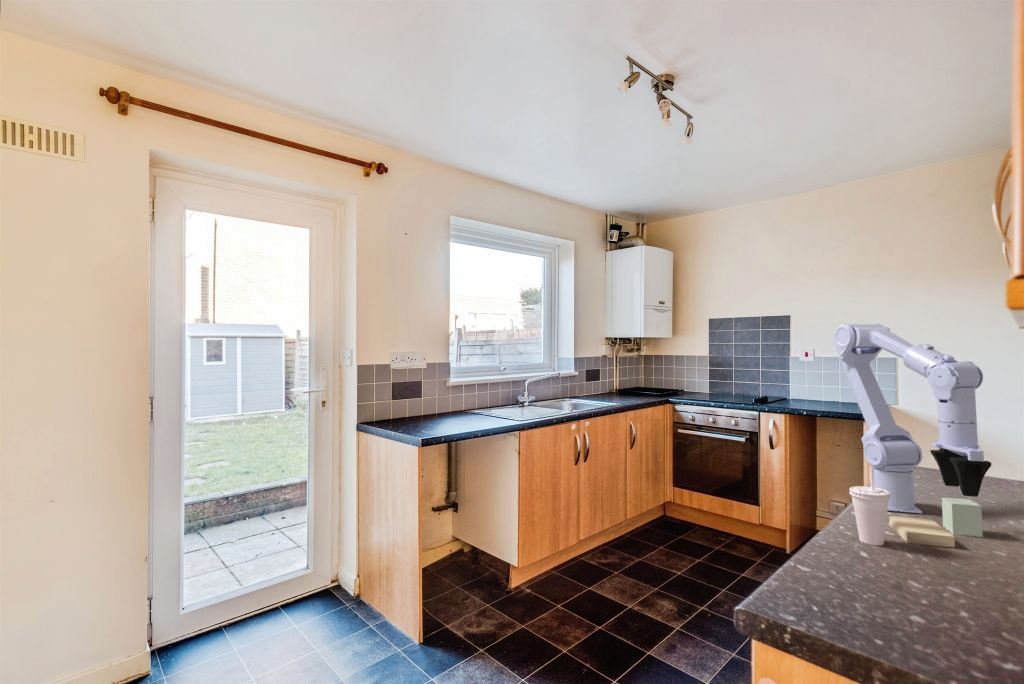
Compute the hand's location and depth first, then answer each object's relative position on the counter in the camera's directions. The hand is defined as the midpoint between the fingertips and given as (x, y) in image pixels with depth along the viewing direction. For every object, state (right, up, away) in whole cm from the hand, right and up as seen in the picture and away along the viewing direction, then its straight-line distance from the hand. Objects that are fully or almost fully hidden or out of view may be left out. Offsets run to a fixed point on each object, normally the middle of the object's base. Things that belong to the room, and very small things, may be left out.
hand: (960, 490), depth 96 cm
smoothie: (-21, -9, -4) cm, 23 cm away
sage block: (0, -8, 0) cm, 8 cm away
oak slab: (-10, -8, -2) cm, 13 cm away
